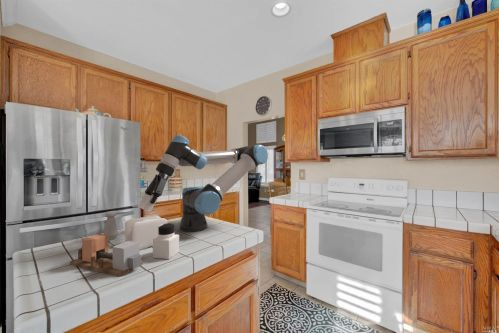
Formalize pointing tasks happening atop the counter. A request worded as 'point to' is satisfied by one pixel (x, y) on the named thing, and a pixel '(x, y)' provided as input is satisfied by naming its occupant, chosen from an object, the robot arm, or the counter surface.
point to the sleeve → (94, 246)
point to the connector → (126, 255)
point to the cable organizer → (143, 230)
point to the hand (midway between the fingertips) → (143, 209)
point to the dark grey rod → (104, 255)
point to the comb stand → (99, 265)
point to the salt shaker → (111, 225)
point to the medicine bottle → (165, 242)
